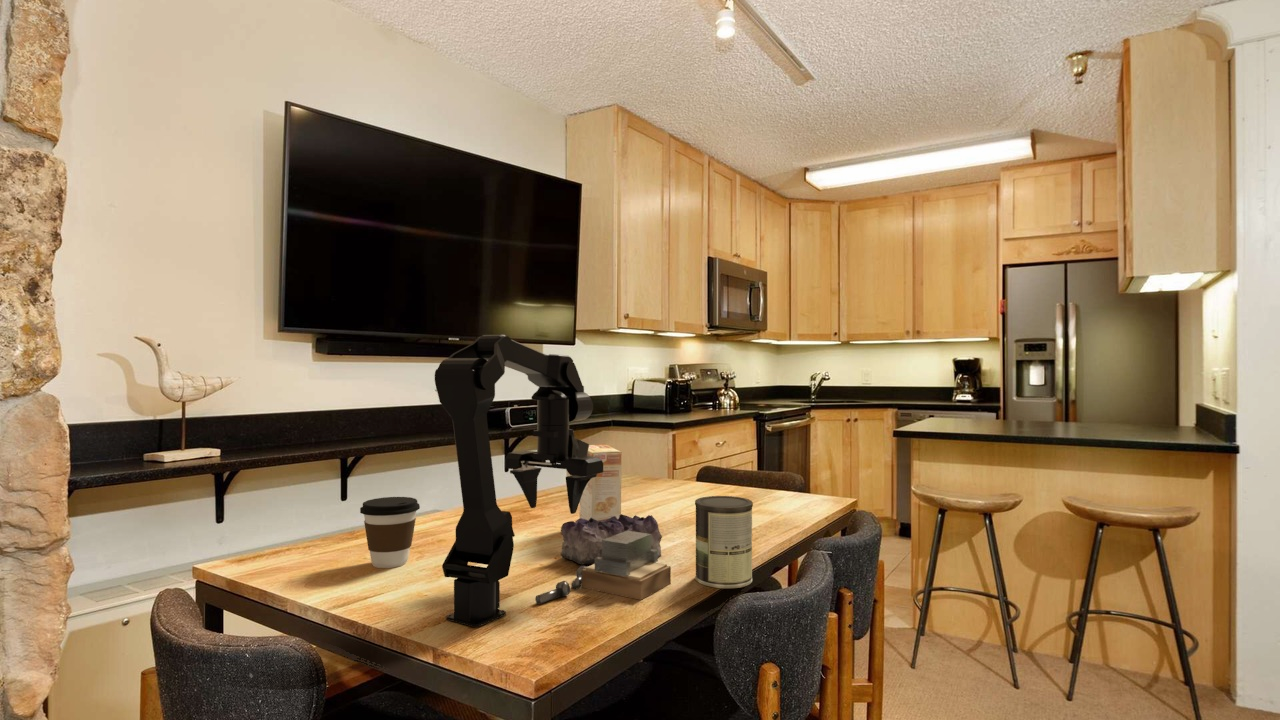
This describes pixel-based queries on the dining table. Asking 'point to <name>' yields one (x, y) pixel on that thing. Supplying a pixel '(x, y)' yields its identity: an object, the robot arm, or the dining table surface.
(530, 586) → the dining table surface
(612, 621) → the dining table surface
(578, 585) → the bolt
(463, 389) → the robot arm
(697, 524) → the coffee can
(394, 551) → the coffee cup
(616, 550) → the block
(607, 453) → the coffeecake box
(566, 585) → the bolt
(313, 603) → the dining table surface
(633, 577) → the stand
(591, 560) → the geode
